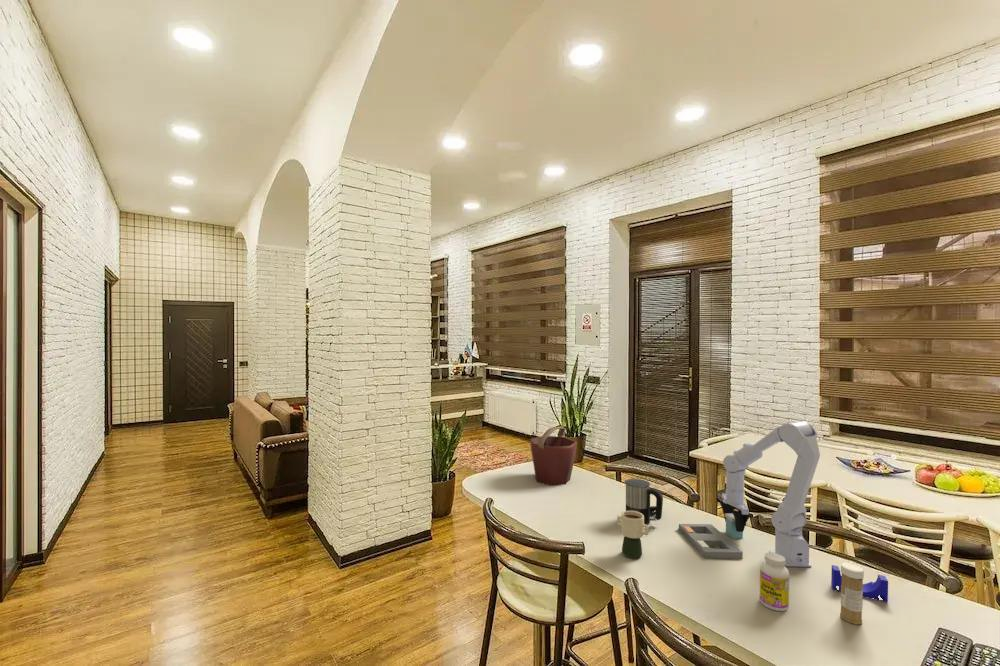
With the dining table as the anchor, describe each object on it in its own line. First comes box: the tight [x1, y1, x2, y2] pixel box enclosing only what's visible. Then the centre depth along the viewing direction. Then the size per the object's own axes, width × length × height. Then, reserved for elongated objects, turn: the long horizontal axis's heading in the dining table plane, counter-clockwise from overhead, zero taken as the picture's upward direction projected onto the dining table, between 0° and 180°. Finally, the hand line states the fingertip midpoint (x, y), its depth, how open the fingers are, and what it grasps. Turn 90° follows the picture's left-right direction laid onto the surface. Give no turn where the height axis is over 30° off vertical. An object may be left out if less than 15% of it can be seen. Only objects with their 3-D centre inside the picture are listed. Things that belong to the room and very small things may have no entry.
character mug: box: [616, 510, 650, 558], centre depth 146 cm, size 11×7×13 cm, turn 45°
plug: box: [725, 513, 744, 539], centre depth 162 cm, size 5×5×7 cm
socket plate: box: [678, 523, 744, 559], centre depth 156 cm, size 21×12×2 cm, turn 1°
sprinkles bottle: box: [839, 562, 865, 625], centre depth 115 cm, size 5×5×14 cm
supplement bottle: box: [758, 552, 790, 612], centre depth 121 cm, size 7×7×13 cm
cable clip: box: [830, 564, 889, 603], centre depth 127 cm, size 12×4×6 cm, turn 62°
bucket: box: [529, 426, 578, 486], centre depth 219 cm, size 24×22×25 cm
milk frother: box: [624, 478, 664, 526], centre depth 176 cm, size 14×16×15 cm
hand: (734, 526), depth 162 cm, fingers open, 7 cm apart
